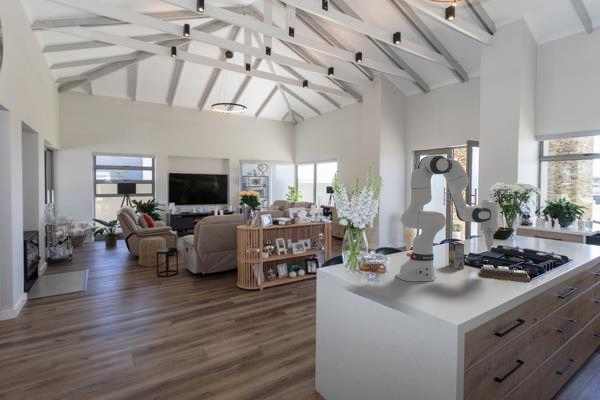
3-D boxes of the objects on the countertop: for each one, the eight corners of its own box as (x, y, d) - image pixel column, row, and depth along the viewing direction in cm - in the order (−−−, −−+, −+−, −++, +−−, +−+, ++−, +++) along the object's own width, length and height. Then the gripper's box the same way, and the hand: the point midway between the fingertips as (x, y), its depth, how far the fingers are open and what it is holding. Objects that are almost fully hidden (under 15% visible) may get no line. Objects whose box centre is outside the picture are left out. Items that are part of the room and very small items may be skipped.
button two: (525, 276, 171) (525, 272, 170) (514, 274, 173) (514, 271, 173) (523, 273, 175) (524, 270, 175) (513, 272, 177) (513, 269, 177)
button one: (508, 272, 174) (508, 268, 174) (498, 271, 177) (498, 267, 177) (508, 270, 179) (508, 266, 179) (498, 269, 181) (498, 265, 181)
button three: (493, 270, 178) (493, 267, 178) (483, 269, 181) (483, 266, 181) (493, 268, 182) (493, 265, 182) (483, 267, 185) (483, 264, 185)
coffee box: (448, 265, 206) (448, 241, 206) (457, 265, 206) (457, 241, 206) (454, 268, 197) (454, 244, 197) (464, 268, 197) (464, 244, 197)
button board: (530, 282, 167) (530, 274, 167) (479, 276, 180) (479, 269, 180) (527, 277, 176) (527, 270, 176) (479, 272, 188) (479, 265, 188)
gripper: (496, 230, 170) (496, 254, 171) (494, 225, 188) (494, 247, 188) (483, 229, 173) (483, 253, 174) (482, 225, 191) (482, 247, 192)
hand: (489, 250), depth 181 cm, fingers closed
